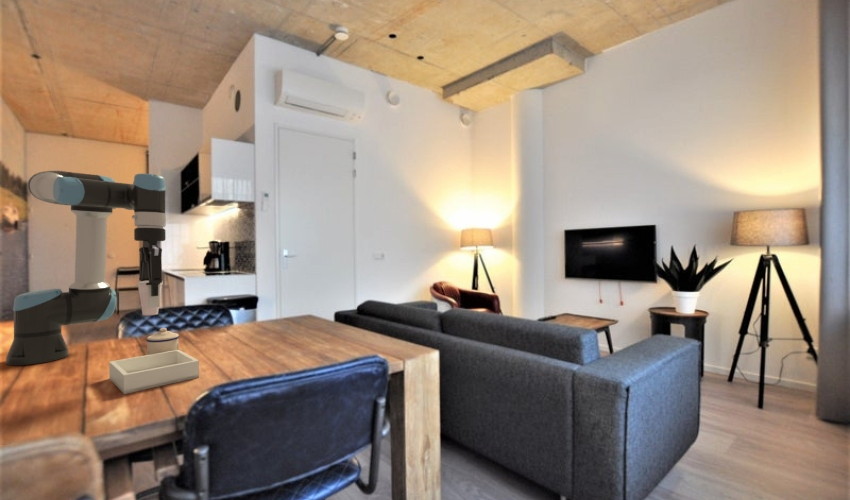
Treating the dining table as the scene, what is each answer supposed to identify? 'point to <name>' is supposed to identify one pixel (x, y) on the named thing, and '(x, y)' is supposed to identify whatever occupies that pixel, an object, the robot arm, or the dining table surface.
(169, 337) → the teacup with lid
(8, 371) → the dining table surface
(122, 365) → the bin
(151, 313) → the smoothie
